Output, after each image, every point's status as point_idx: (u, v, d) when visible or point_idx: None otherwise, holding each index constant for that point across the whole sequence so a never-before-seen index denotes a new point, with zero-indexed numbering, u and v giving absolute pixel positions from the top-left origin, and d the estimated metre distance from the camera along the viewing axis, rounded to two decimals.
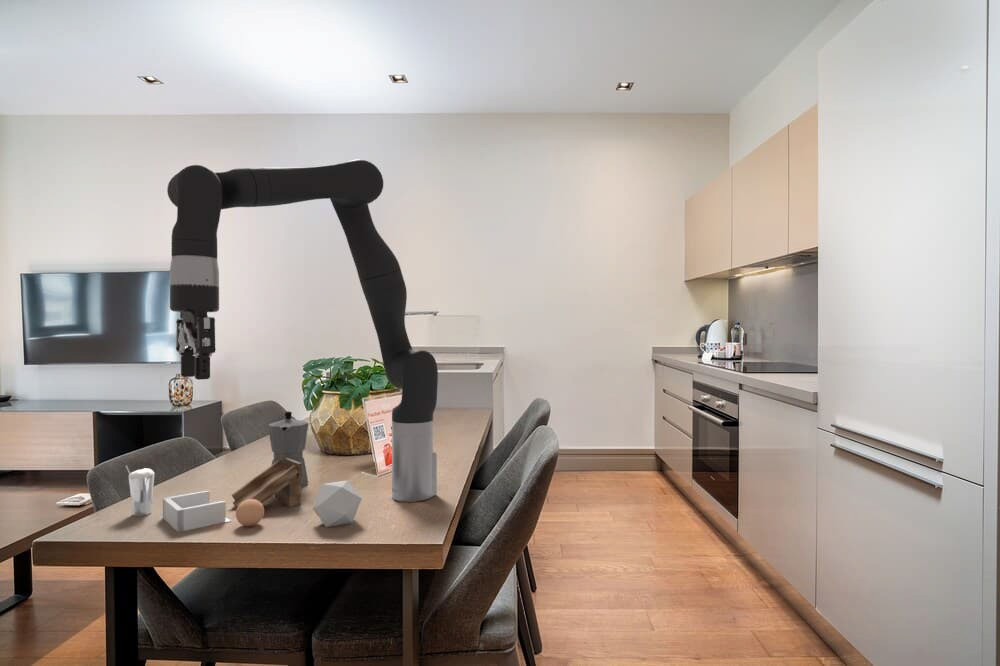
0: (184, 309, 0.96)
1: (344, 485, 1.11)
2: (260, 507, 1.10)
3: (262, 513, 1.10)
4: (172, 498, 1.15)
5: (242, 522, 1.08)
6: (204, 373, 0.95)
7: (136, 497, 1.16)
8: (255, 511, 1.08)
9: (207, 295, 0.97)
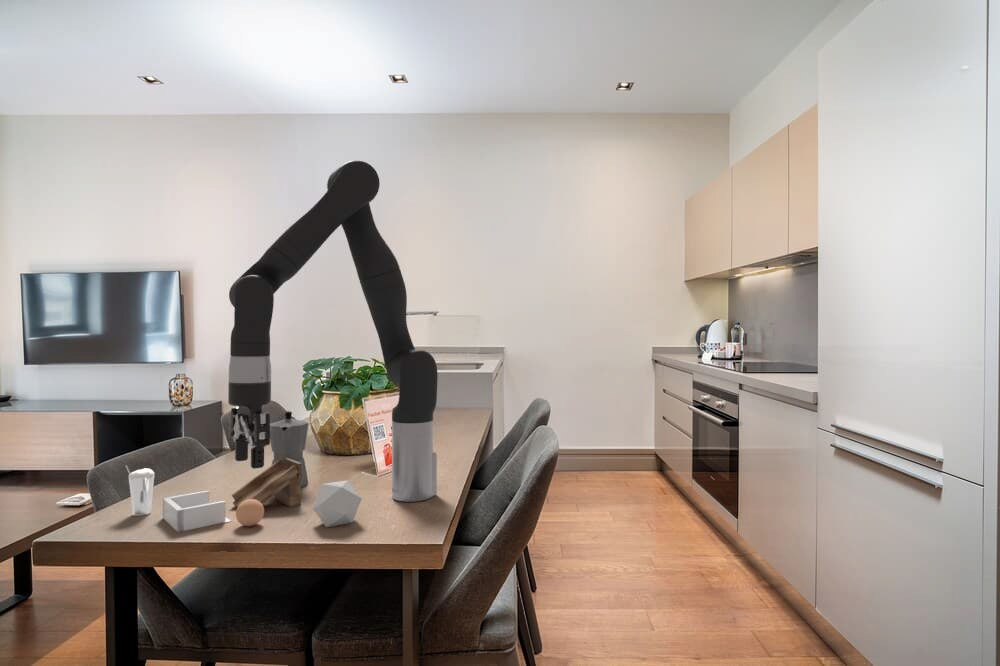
0: (242, 405, 1.07)
1: (344, 485, 1.11)
2: (260, 507, 1.10)
3: (262, 513, 1.10)
4: (172, 498, 1.15)
5: (242, 522, 1.08)
6: (260, 463, 1.06)
7: (136, 497, 1.16)
8: (255, 511, 1.08)
9: (262, 391, 1.08)
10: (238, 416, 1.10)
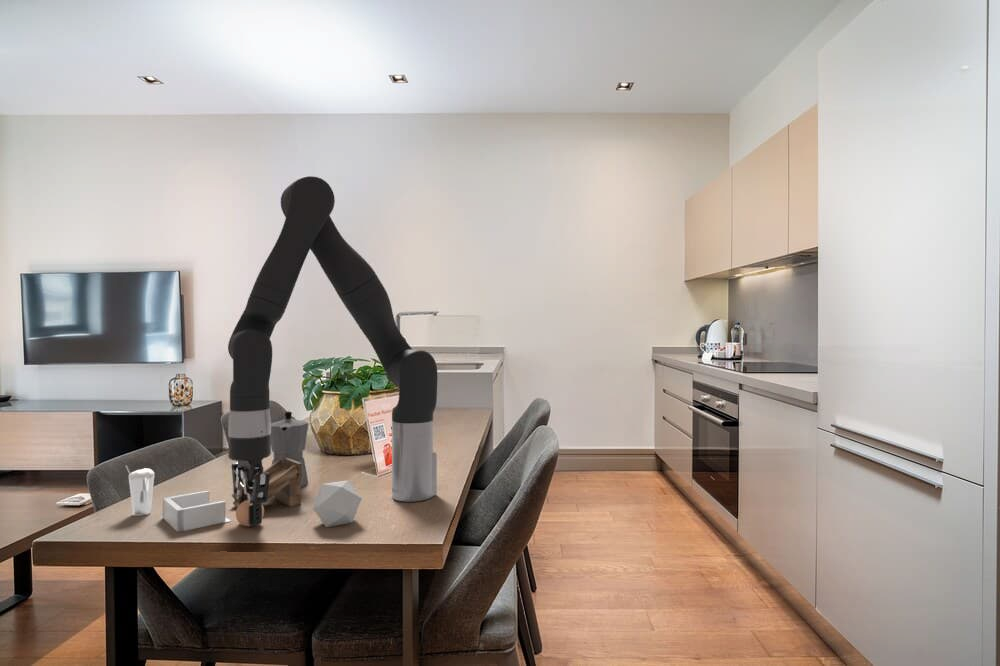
0: (242, 460, 1.07)
1: (344, 485, 1.11)
2: None
3: (262, 513, 1.10)
4: (172, 498, 1.15)
5: (242, 522, 1.08)
6: (257, 520, 1.07)
7: (136, 497, 1.16)
8: None
9: (262, 445, 1.08)
10: (238, 469, 1.10)
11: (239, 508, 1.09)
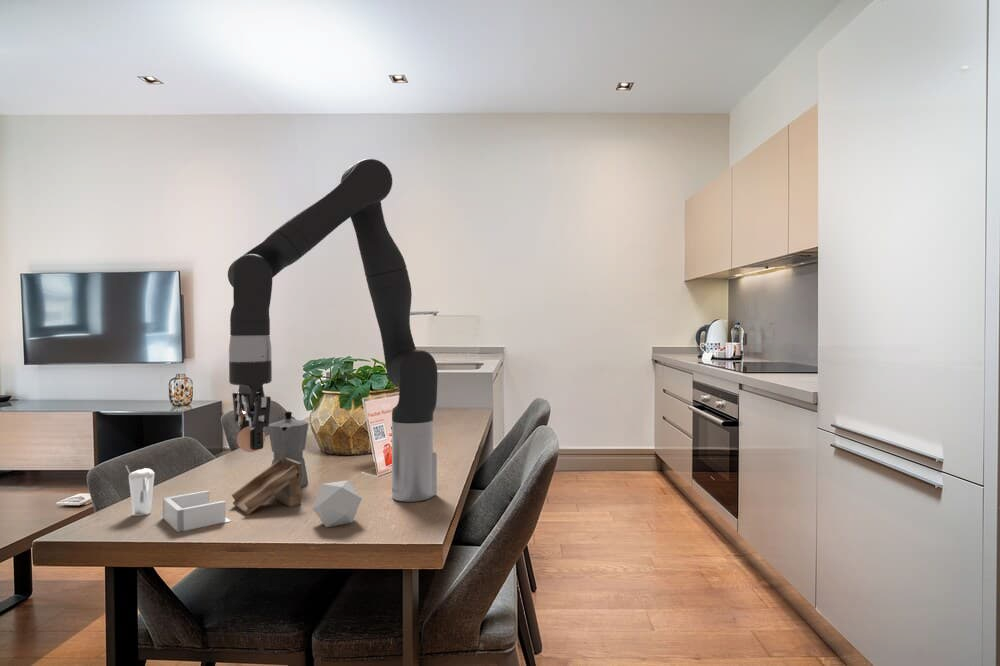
0: (243, 384, 1.07)
1: (344, 485, 1.11)
2: None
3: (263, 439, 1.10)
4: (172, 498, 1.15)
5: (243, 447, 1.08)
6: (259, 444, 1.08)
7: (136, 497, 1.16)
8: None
9: (262, 370, 1.09)
10: (239, 395, 1.10)
11: (240, 433, 1.09)
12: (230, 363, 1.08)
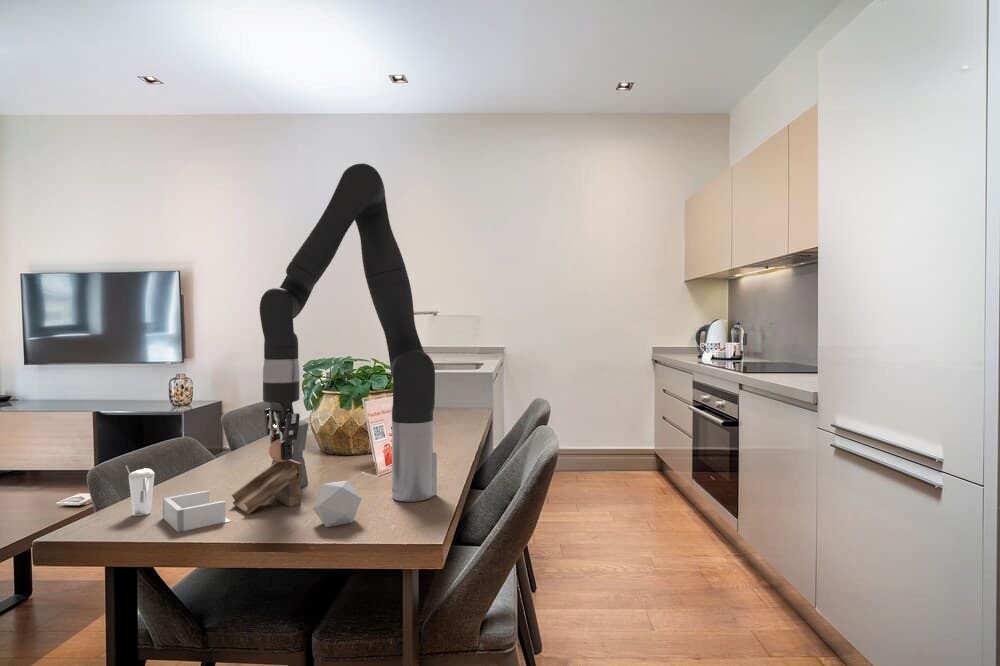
0: (275, 402, 1.22)
1: (344, 485, 1.11)
2: None
3: (292, 451, 1.25)
4: (172, 498, 1.15)
5: (274, 457, 1.23)
6: (288, 455, 1.23)
7: (136, 497, 1.16)
8: None
9: (292, 390, 1.23)
10: (271, 412, 1.25)
11: (272, 445, 1.24)
12: (264, 383, 1.23)
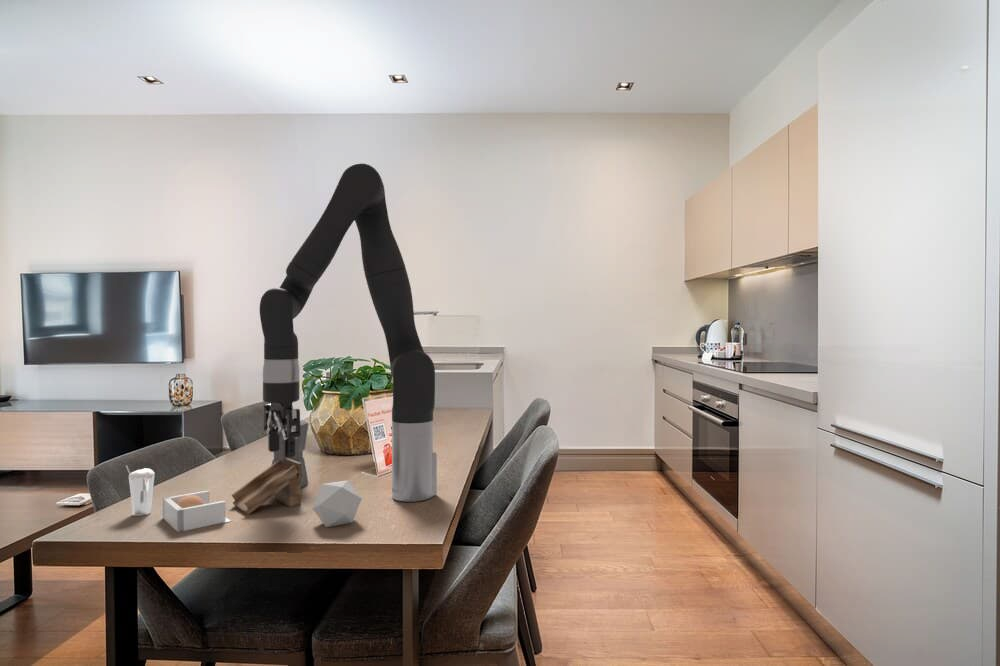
0: (275, 402, 1.22)
1: (344, 485, 1.11)
2: None
3: None
4: (172, 498, 1.15)
5: (198, 499, 1.13)
6: (291, 452, 1.22)
7: (136, 497, 1.16)
8: None
9: (292, 390, 1.23)
10: (271, 412, 1.25)
11: None
12: (264, 384, 1.23)
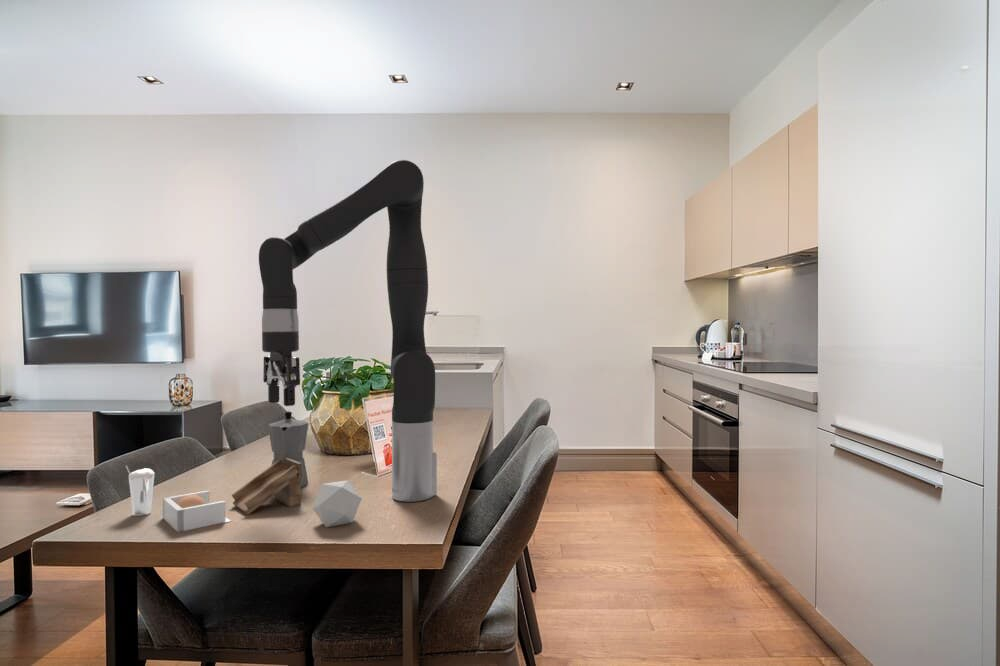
0: (275, 351, 1.22)
1: (344, 485, 1.11)
2: None
3: None
4: (172, 498, 1.15)
5: (200, 499, 1.13)
6: (291, 401, 1.22)
7: (136, 497, 1.16)
8: None
9: (291, 339, 1.24)
10: (271, 362, 1.25)
11: None
12: (263, 333, 1.23)
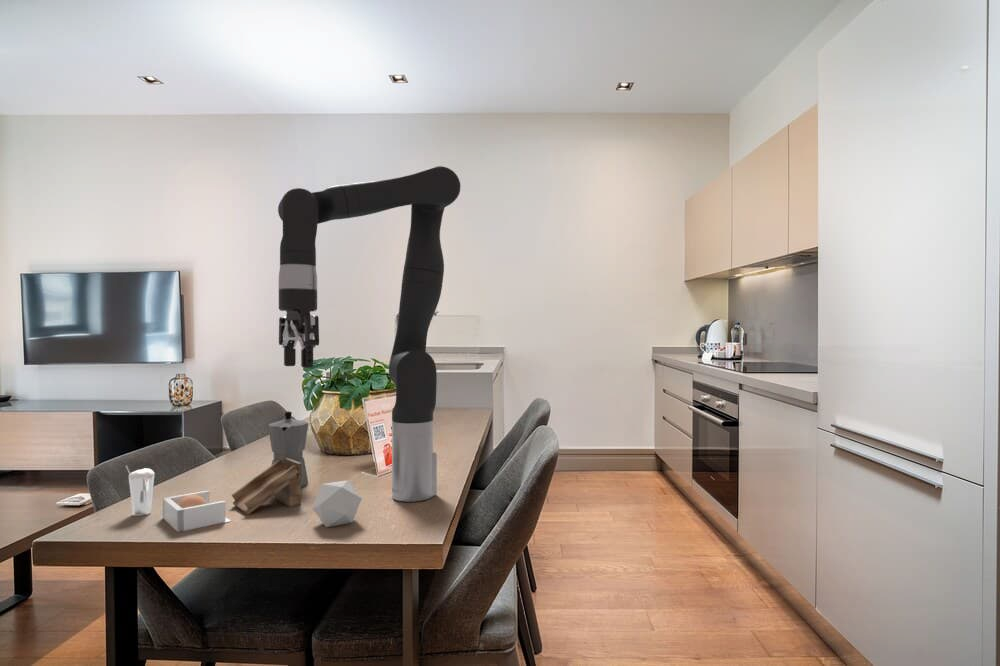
0: (292, 309, 1.14)
1: (344, 485, 1.11)
2: None
3: None
4: (172, 498, 1.15)
5: (202, 499, 1.13)
6: (310, 362, 1.14)
7: (136, 497, 1.16)
8: None
9: (310, 297, 1.16)
10: (287, 322, 1.17)
11: None
12: (280, 290, 1.15)
